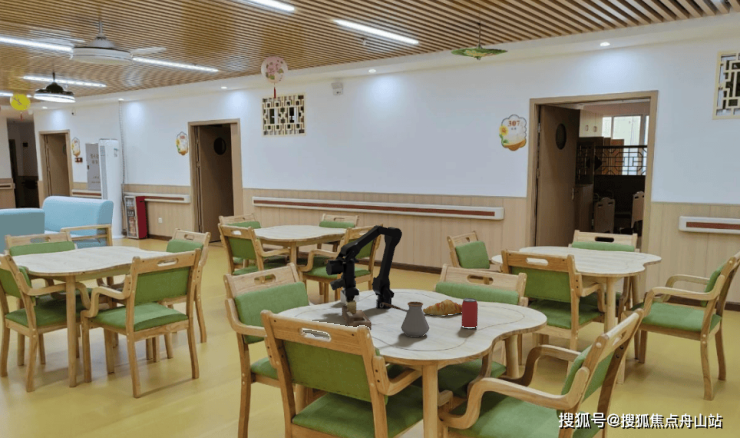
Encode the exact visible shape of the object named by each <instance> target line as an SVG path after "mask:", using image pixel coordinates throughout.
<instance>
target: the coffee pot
mask: <svg viewBox="0 0 740 438" xmlns="http://www.w3.org/2000/svg"><path fill="white" fill-rule="evenodd" d="M382 304H383V305H386V306H389V307H391V308H390V309H394V310H398V311H399V310H400V311H402V312H405V313H406V315H405V317H404V319H403V321H402V324H401V326H400V329H401V331H402V332H403V333H404V334H405V336H407V335H408V336H407V337H409V336H410V338H420V337H419V336H422V337H424V336H425V335H426V334H427V333H428V332H429V330H430V326H429V325H430V324H429V323H428V321H427V319H426V316H425V313H424V312H423V306H424V303H423V302H422V301H409V302H407V303H406V304H407V305H408V309H404V308H401V307H399V306H397V305H394V304H392V305H391V304H388V303H384V302H382ZM380 305H381V304H380ZM380 307H381V306H380ZM382 307H383V306H382ZM424 334H425V335H424ZM423 335H424V336H423ZM411 336H412V337H411Z"/></svg>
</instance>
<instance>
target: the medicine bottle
mask: <svg viewBox="0 0 740 438" xmlns="http://www.w3.org/2000/svg"><path fill="white" fill-rule="evenodd" d="M355 285H356V286H357V281H356V280H355ZM353 288H354V287H353ZM357 289H358V290H359V291H360V289H359V288H357ZM339 292H340V297H339V298H340V304H346V298H345V295H344V294H343V293H342V291H341V290H340V291H339ZM353 300H355V301H356V304H357V303H359V302H360V294H359V295H357V296H355V297H354V299H353Z"/></svg>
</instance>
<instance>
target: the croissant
mask: <svg viewBox="0 0 740 438" xmlns="http://www.w3.org/2000/svg"><path fill="white" fill-rule="evenodd" d="M422 311H423V313H424V314H425V315H430V314H431V315H430V316H437V315H448V314H455V313H460V314H462V313H461V312H462V303H461V304H460V303H457V302H454V301H453V300H451V299H448V298H447V299H444V300H442V301H441V302H436V303H434V304H432V305H429V306H427V307H426V308H422ZM455 315H456V314H455Z"/></svg>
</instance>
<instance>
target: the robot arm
mask: <svg viewBox="0 0 740 438" xmlns="http://www.w3.org/2000/svg"><path fill="white" fill-rule="evenodd" d="M379 236H383V239H384V250H383V253H382V254H383V255H382V258H381V264H380V268H379V271H378V274H377V276H376V277H375V276H374V277H372V283H371V287H372V291H373V292H374V294H375V296H376V298H377V299H375V301H376V302H375V303H376V304H375V306H376V307H375V308H376V309H378V310H388V309H392V308H391V307H389V306H386V305H383V304H382V302H384V303H388V304H391V305H393V304H392V303H393V302H392V299H393V298H394V296H395V292H394V291H393V290H391V280H390V272H391V268H392V264H393V260H394V255H395V252H396V251H395V250H396V247H397V246H398V245H399V243H400V241H401V239H402V237H403V232H402V229H400V228H399V227H393V226H388V227H386V226H383V225H379V224H375V225H374V226H373V227H372V228H371V229H369V230H368V231H366V232H365V233H364V234H363V235H361V236H360V237H359V238H357V239H356V240H354V241H349V242H348V243H346V244H343V245H342V246H341V247H340V250H339V252H338V254H337V256H336V258H335V259H328V260H327V263H326V266H325V271H326V274H327V275H328V276H335V275H340V277H339V278H337V279H334V280H332V281H329V285H330V287H331V290H332V291H337V290H338V289H341V290H340V291H342V293H343V294H344V295H345V298H346V300H353V299H354V297H355V296H357V295H359V296H360V289H359V288H357V284H356V285H355V281H356V278H357V276H356V264H357V263H360V260H358V259H357V256H358V255H359V254H360V253H361V251H362V249H363V248H364V247H365V246H367V245H368V244H370V243H372V242H373V241H374V240H375V239H376V238H378V237H379ZM353 287H354V288H353ZM358 289H359V290H358ZM380 304H381V305H380ZM380 306H381V307H380ZM382 306H383V307H382Z"/></svg>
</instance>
